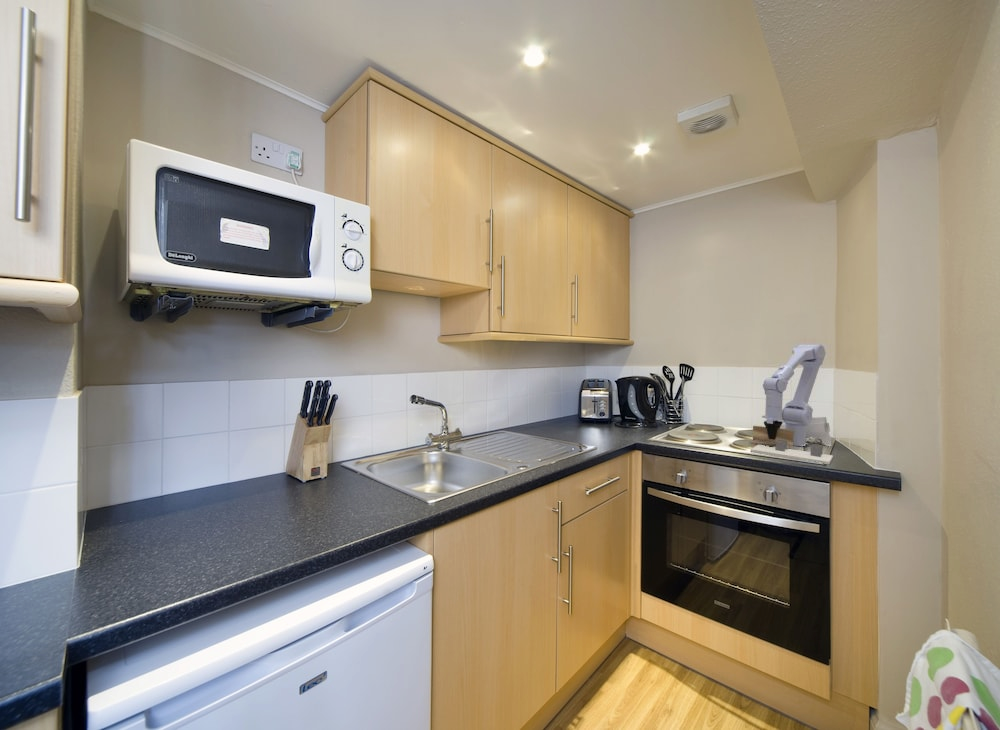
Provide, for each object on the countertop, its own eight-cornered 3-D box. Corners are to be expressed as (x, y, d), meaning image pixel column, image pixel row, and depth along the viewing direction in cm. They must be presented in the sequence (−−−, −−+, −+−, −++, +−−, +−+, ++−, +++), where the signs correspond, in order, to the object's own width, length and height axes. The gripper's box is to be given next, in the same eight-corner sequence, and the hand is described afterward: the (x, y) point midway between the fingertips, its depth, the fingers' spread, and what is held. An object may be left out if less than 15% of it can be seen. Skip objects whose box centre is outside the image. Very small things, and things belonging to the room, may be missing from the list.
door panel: (753, 439, 173) (754, 425, 173) (793, 444, 163) (794, 430, 163) (752, 440, 171) (753, 426, 171) (792, 445, 162) (793, 431, 162)
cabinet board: (758, 446, 167) (758, 436, 167) (832, 458, 150) (833, 446, 150) (750, 451, 157) (751, 440, 157) (829, 464, 141) (829, 452, 141)
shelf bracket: (827, 447, 168) (821, 417, 170) (766, 446, 190) (762, 420, 192) (834, 446, 170) (828, 416, 172) (774, 445, 192) (769, 419, 194)
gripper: (766, 404, 175) (765, 434, 175) (758, 407, 165) (757, 439, 165) (785, 405, 170) (784, 437, 170) (779, 408, 160) (778, 442, 160)
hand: (772, 438), depth 167 cm, fingers closed on door panel, 2 cm apart
